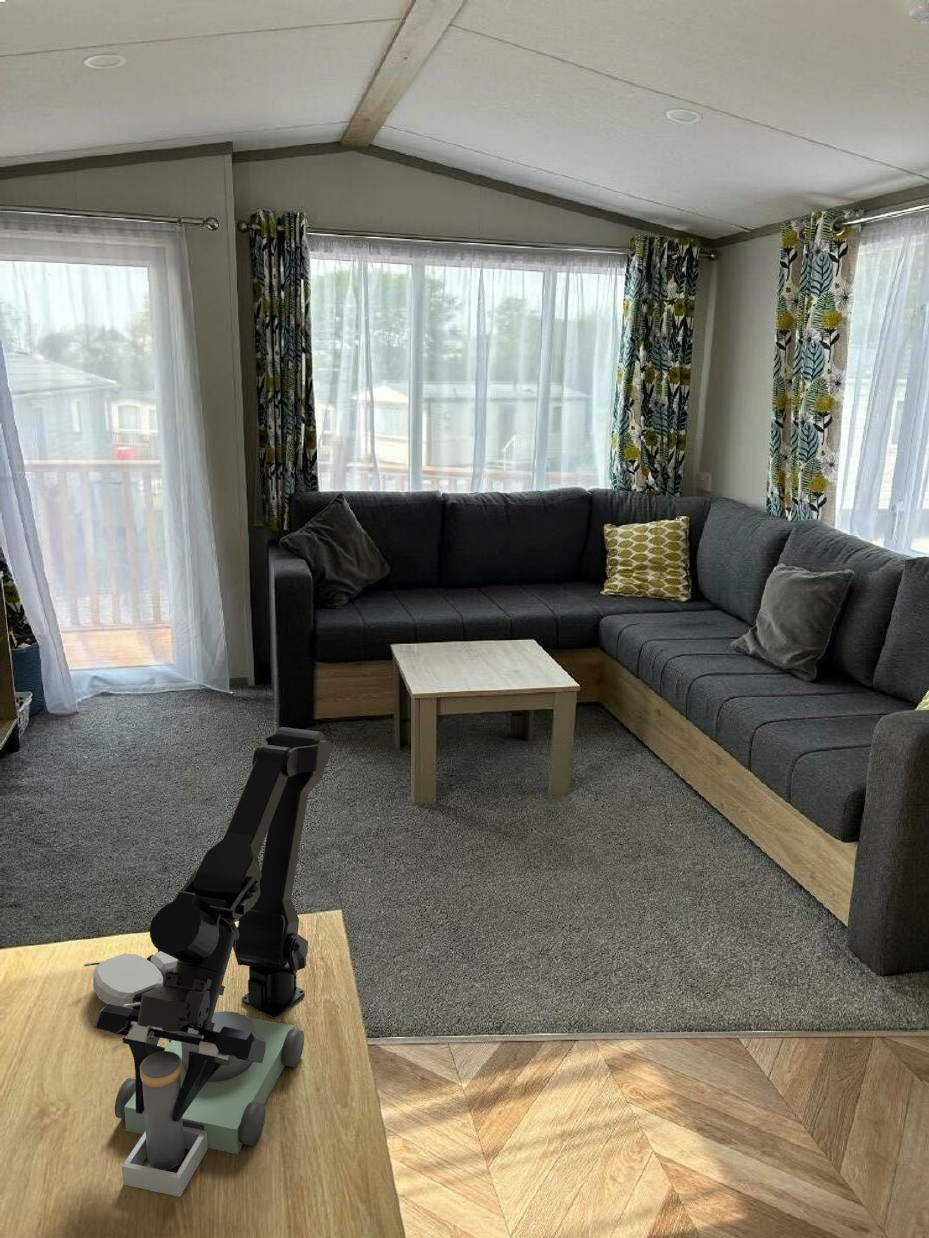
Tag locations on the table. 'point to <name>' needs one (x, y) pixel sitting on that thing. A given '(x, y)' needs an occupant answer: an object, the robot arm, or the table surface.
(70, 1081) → the table surface
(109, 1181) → the table surface
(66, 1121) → the table surface
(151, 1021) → the robot arm
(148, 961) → the robot toy
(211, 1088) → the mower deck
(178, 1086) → the grey banded cylinder
